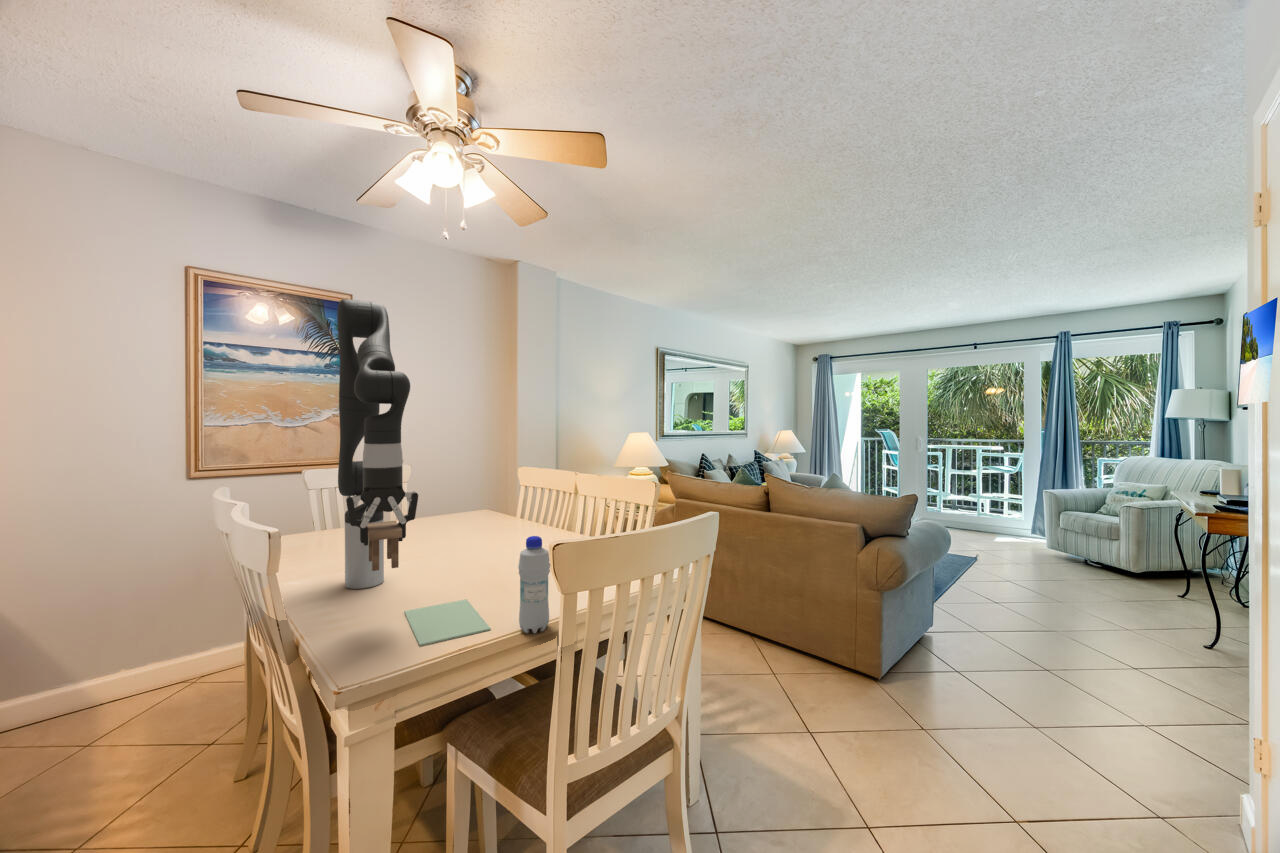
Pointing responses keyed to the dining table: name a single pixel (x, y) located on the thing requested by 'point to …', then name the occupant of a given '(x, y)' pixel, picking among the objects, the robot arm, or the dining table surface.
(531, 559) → the bottle
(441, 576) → the dining table surface
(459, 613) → the mat
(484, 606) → the dining table surface
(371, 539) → the stool
